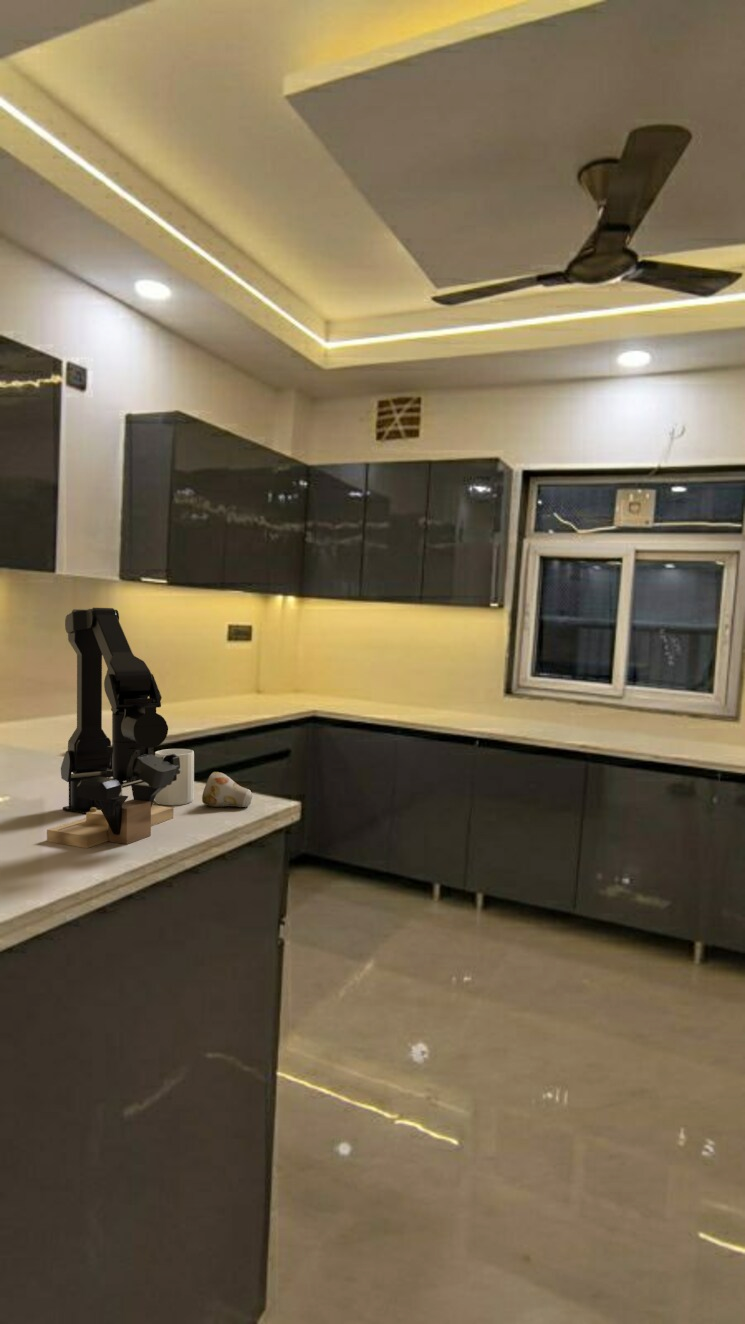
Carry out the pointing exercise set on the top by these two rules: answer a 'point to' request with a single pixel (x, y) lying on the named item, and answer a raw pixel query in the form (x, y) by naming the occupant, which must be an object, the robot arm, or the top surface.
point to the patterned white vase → (225, 792)
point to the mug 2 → (178, 779)
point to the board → (96, 829)
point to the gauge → (126, 821)
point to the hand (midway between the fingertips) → (129, 829)
